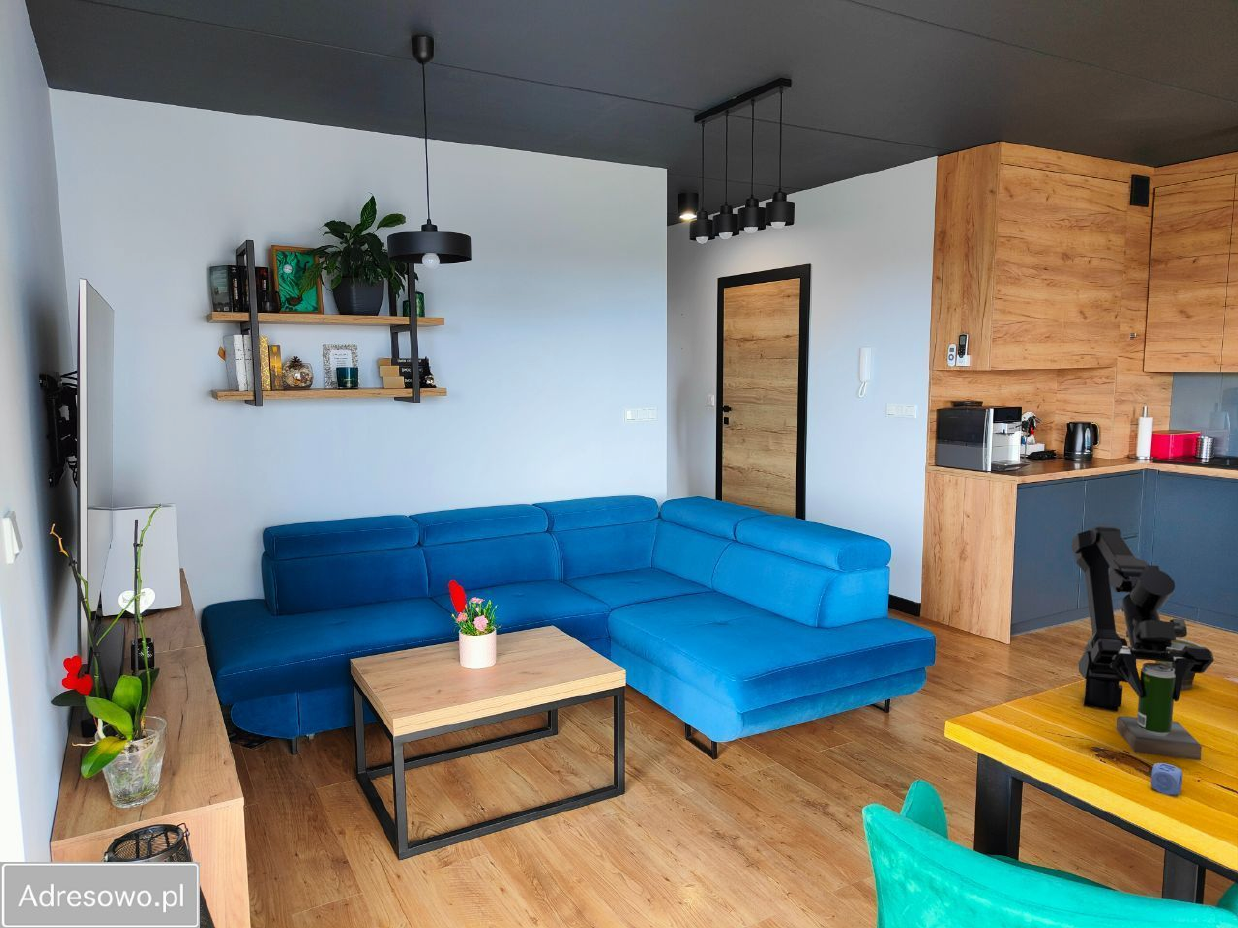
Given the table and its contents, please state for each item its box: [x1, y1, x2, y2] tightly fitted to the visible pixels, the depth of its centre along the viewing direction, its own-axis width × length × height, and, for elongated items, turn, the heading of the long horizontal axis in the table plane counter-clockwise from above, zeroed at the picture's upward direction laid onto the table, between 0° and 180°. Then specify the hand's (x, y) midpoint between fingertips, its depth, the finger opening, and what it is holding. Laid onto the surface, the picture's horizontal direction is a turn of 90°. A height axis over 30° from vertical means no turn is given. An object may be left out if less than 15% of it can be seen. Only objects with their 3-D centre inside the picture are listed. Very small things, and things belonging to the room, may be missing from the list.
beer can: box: [1136, 662, 1176, 736], centre depth 150 cm, size 5×5×12 cm
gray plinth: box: [1115, 715, 1203, 761], centre depth 160 cm, size 11×11×3 cm
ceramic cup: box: [1154, 638, 1203, 691], centre depth 190 cm, size 13×10×10 cm
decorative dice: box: [1150, 762, 1183, 796], centre depth 141 cm, size 4×4×4 cm
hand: (1159, 698), depth 148 cm, fingers closed on beer can, 5 cm apart
